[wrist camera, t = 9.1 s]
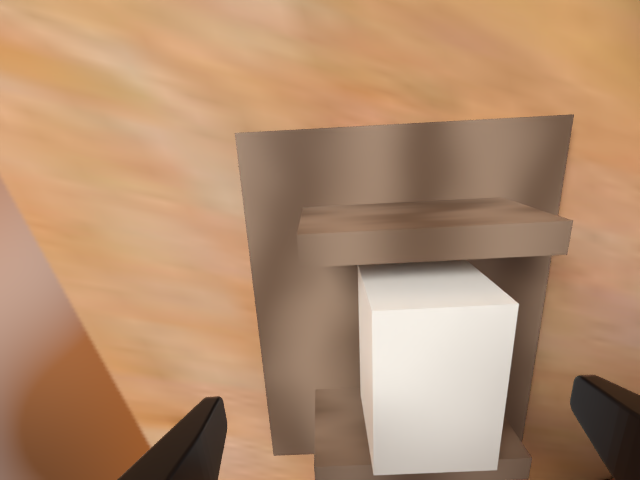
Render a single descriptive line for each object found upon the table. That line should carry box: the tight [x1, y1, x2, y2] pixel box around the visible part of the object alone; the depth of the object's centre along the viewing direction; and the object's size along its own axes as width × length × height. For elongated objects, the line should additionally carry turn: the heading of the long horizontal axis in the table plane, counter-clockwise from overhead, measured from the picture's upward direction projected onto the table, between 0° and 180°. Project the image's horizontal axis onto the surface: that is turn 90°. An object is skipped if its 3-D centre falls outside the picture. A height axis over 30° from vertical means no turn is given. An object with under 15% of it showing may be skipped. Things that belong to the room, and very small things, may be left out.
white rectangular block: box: [358, 260, 519, 475], centre depth 15 cm, size 8×5×4 cm, turn 3°
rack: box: [235, 115, 574, 480], centre depth 17 cm, size 16×20×6 cm
